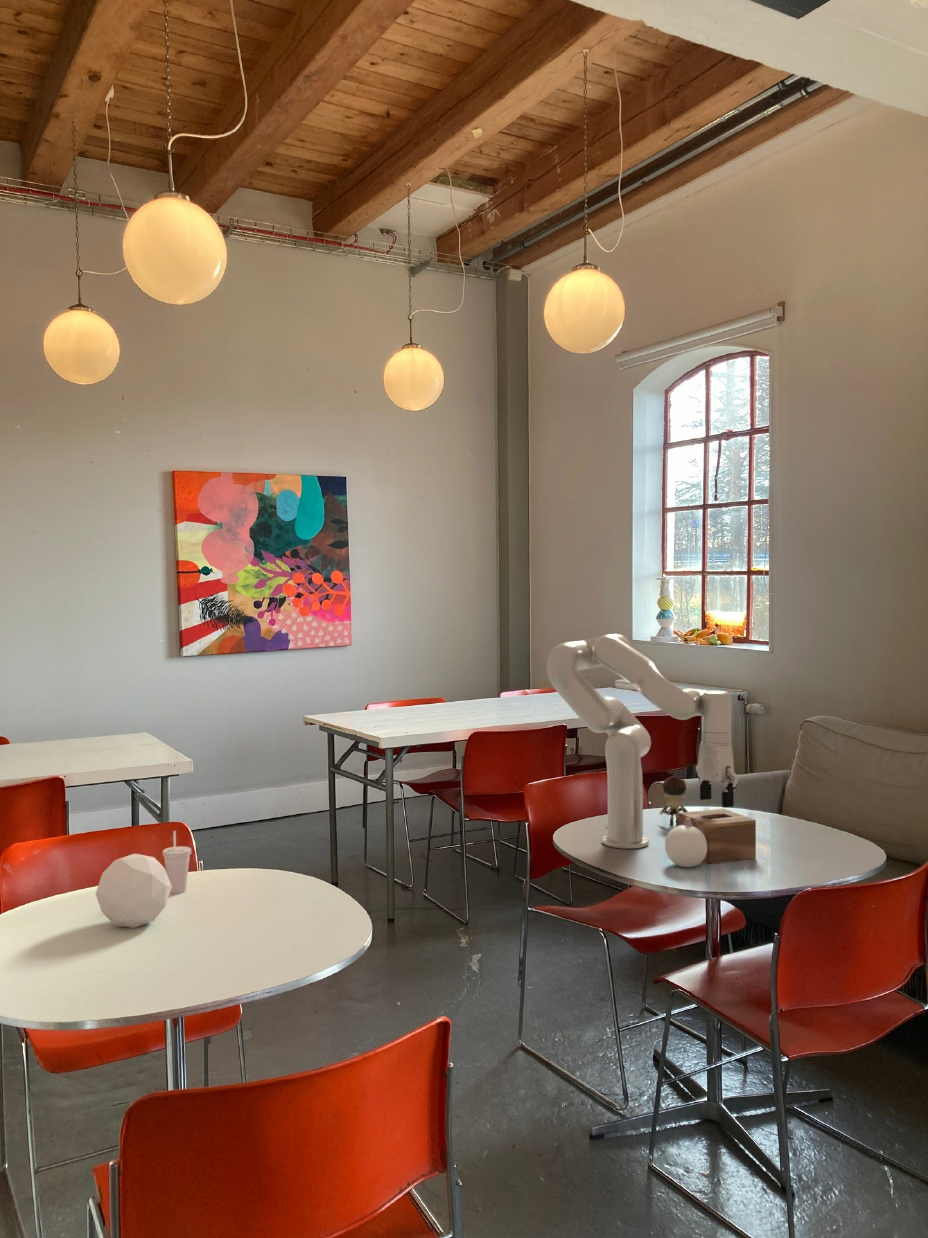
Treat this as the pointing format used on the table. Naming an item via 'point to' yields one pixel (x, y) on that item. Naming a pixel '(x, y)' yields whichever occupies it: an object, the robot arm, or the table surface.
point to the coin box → (724, 834)
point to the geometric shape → (133, 890)
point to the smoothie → (177, 866)
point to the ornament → (686, 845)
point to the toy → (674, 797)
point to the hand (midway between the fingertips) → (716, 803)
